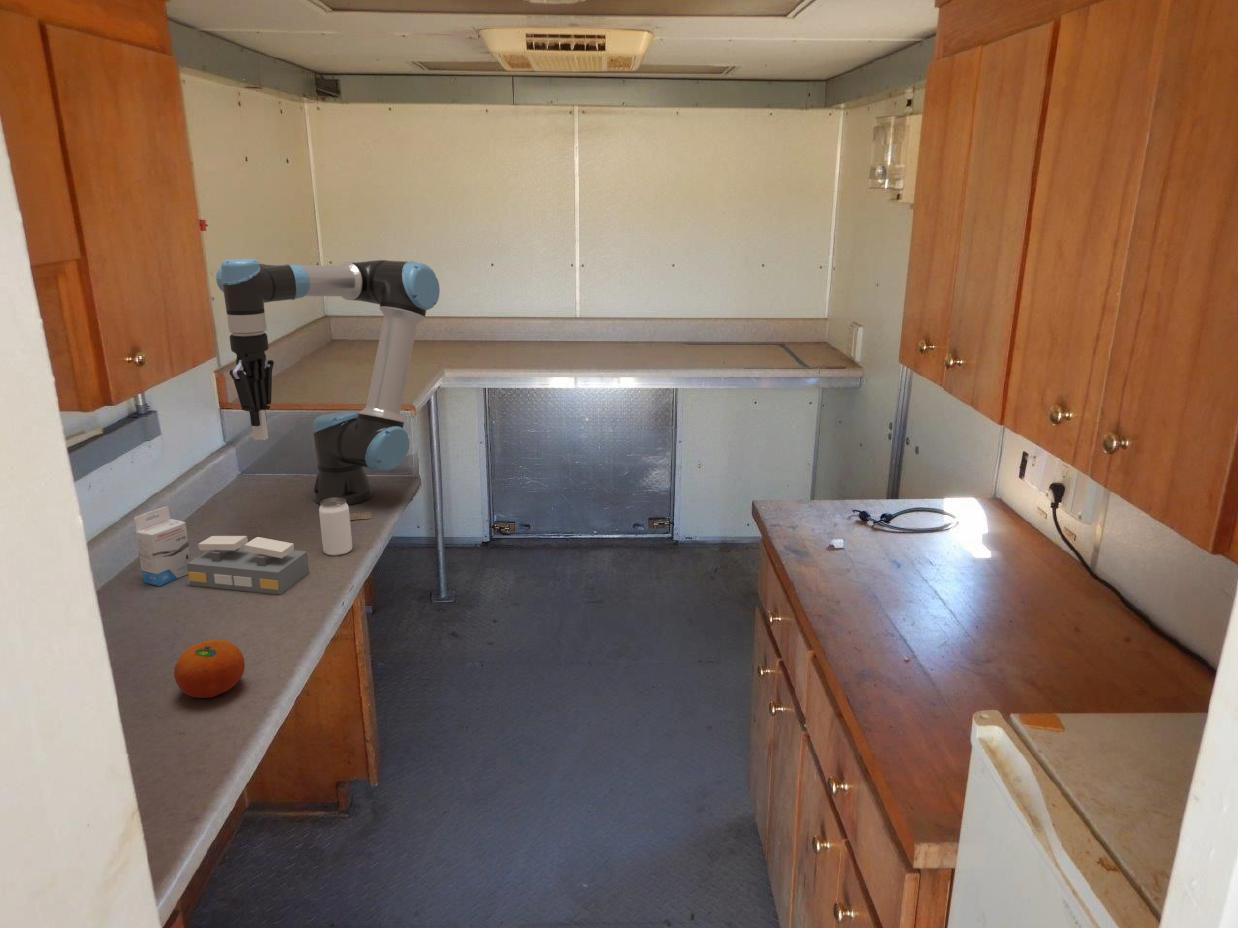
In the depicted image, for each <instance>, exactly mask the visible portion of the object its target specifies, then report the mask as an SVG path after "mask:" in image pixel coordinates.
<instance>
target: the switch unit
mask: <svg viewBox="0 0 1238 928" xmlns="http://www.w3.org/2000/svg"><path fill="white" fill-rule="evenodd" d="M308 560H309V559H308V551H306V550H305V551H304V550H303V551H302V550H295V549H294V550H293V551H291V552H290V553H289V554H287V555H286V556H284V557H283V558H278V557H271V558H269V559H268V560H266V557H265V556H259V554H257V553H252V552H247V551H244V545H243V546H241V547H240V548H238V549H236V550H229V551H227V552H226V553H224V554H222V555H221V553H220V552H214V550H205V552H203V553H202V554H200V555H198V556H197V557H195V558H193V559H192V560H191V561H190V562H188V563H187V569H188V574H187V575H188V580H189V586H194V587H201V588H202V587H204V588H212V589H213V588H214V589H223V590H232V591H242V592H250V593H260V594H268V595H269V594H270V595H279V596H281V595H283V594H284V593H285V592H286V591H287V590H289V589H291V588H292V587H293V586H294V585H296V584H297V583H299V581H300V580H302V579H303V578H305V577H306V576H307V575H309V574H310V567H309V561H308Z"/></svg>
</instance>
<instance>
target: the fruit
mask: <svg viewBox="0 0 1238 928" xmlns="http://www.w3.org/2000/svg"><path fill="white" fill-rule="evenodd" d="M245 667H246V666H245V658H244V655H243V653H242V650H241V649H240V648H239V647H238V646H236V645H235V644H234V643H232V642H230V641H229V640H225V639H219V638H218V639H209V640H208V639H207V640H204V641H201V642H198V643H196V644H193V645H191V646H189V647H188V648H186V649H185V650H183V652H182V653H180V655H179V657H178V659H177V661H176V664H175V667H174V671H173V676H174V679H175V682H176V685H177V686H178V688H179V690H180V691H182V692H183V693H184V694H185V695H188V696H189V697H192V698H201V699H202V698H203V699H205V698H206V699H209V698H214V697H217V696H218V695H221V694H223V693H226V692H228V691H229V690H230V689H232V688H233V687H234V686H235V685H236V684H237V683H238V682H239V681H240V680H241V678H242V677H243V674H244V672H245Z"/></svg>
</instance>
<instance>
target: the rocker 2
mask: <svg viewBox="0 0 1238 928" xmlns="http://www.w3.org/2000/svg"><path fill="white" fill-rule="evenodd" d="M243 546H244V551H247V552H252V553H257V554H259V556H265V557H266V560H268V559H269V558H271V557H278V558H283V557H284V556H286V555H287V554H289V553H290V552H291V551H293V550H295V543H291V542H288V541H281V540H276V539H272V538H271V539H270V538H265V537H261V536H260V537H259V536H257V537H255V538H253V539H251V540H250V541H248V543H246V544H244V545H243Z"/></svg>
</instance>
